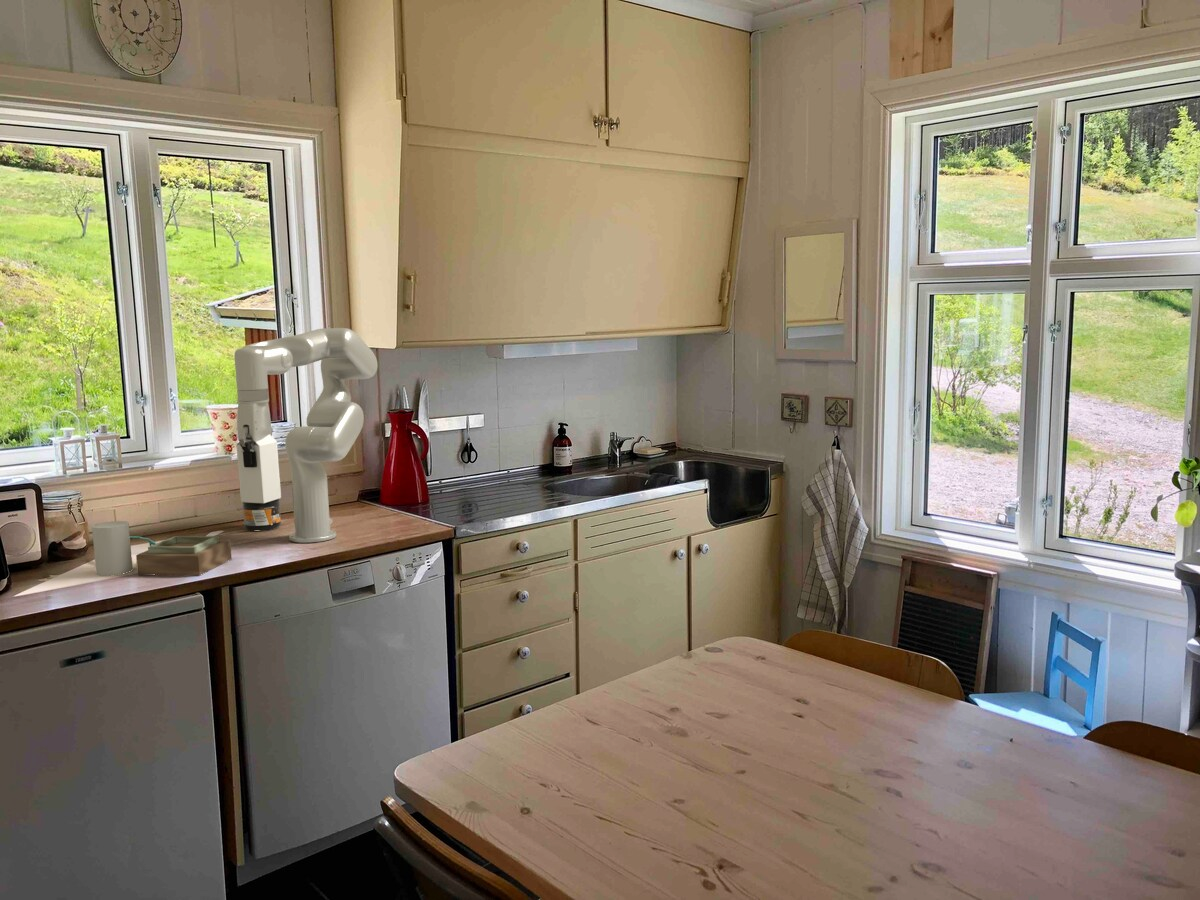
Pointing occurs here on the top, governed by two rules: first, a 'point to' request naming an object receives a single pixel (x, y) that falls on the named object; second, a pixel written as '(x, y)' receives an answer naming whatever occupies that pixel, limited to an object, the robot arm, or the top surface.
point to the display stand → (184, 555)
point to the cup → (112, 548)
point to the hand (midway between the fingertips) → (258, 464)
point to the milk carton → (260, 473)
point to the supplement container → (261, 515)
